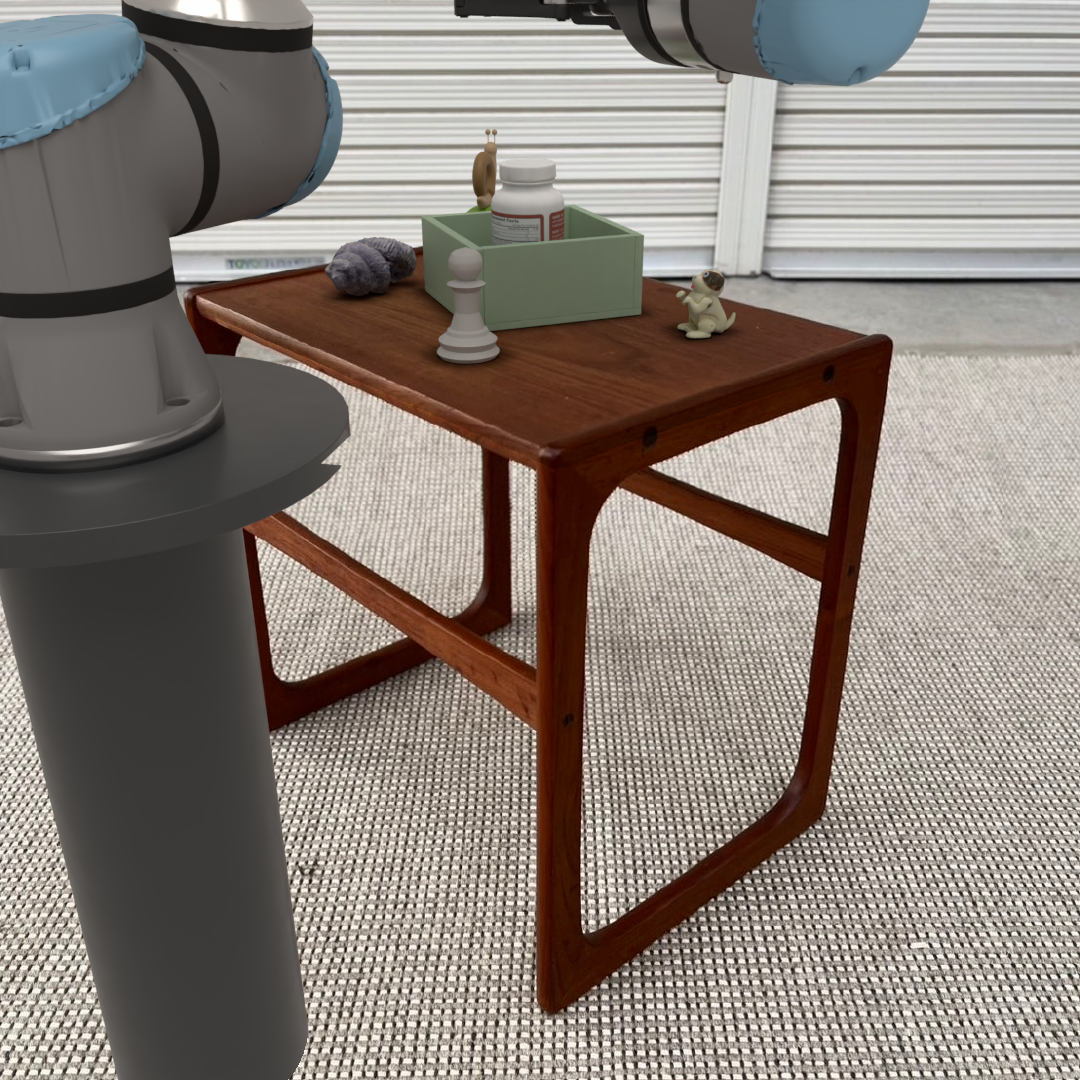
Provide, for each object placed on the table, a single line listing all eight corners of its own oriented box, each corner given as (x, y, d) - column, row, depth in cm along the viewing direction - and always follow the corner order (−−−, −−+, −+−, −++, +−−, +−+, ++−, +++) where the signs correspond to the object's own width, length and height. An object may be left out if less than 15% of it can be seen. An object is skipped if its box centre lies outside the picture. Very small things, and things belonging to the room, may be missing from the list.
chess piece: (424, 358, 85) (418, 249, 82) (460, 342, 89) (457, 237, 85) (476, 368, 83) (473, 257, 79) (511, 351, 86) (510, 244, 83)
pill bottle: (540, 283, 103) (540, 154, 98) (578, 298, 98) (580, 163, 93) (480, 292, 100) (476, 160, 95) (516, 308, 95) (514, 170, 90)
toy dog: (672, 327, 92) (675, 265, 90) (732, 326, 92) (736, 264, 90) (678, 339, 89) (681, 276, 87) (740, 339, 89) (744, 275, 87)
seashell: (401, 292, 108) (334, 320, 100) (369, 243, 107) (299, 268, 99) (436, 262, 104) (370, 289, 97) (403, 211, 104) (334, 234, 96)
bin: (475, 333, 91) (473, 249, 88) (424, 290, 103) (421, 216, 100) (641, 314, 96) (644, 234, 93) (574, 276, 108) (574, 204, 105)
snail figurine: (520, 253, 117) (519, 129, 111) (507, 267, 111) (505, 137, 106) (468, 251, 118) (464, 128, 112) (453, 265, 112) (448, 136, 107)
